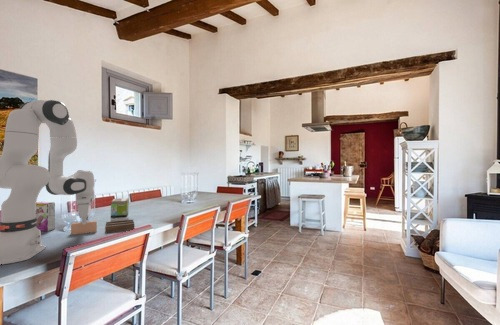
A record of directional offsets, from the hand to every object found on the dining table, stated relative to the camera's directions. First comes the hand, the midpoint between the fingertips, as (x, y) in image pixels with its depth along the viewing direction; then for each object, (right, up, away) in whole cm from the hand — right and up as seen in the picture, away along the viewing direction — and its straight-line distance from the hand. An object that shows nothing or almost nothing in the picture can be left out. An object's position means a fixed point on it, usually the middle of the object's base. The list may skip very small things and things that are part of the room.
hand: (85, 222), depth 137 cm
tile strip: (0, -6, -1) cm, 6 cm away
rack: (+16, -6, +8) cm, 19 cm away
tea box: (+4, -6, +28) cm, 29 cm away
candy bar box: (-28, -6, +3) cm, 28 cm away
